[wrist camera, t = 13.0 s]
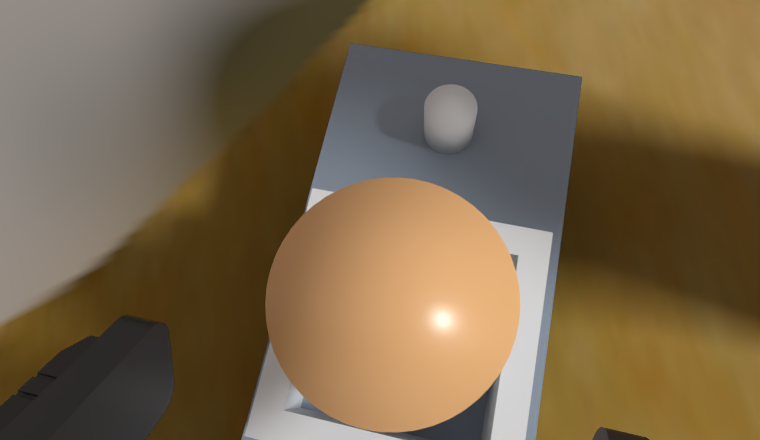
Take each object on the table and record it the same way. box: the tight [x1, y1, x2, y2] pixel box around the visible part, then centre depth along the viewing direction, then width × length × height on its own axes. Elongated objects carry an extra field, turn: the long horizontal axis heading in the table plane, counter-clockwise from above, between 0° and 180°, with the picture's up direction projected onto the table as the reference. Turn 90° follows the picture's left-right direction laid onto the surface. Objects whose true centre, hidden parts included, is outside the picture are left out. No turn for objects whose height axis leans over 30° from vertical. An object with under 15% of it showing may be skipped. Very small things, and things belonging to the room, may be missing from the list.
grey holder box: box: [241, 43, 582, 440], centre depth 22 cm, size 10×20×10 cm, turn 167°
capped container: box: [265, 178, 520, 433], centre depth 15 cm, size 5×5×10 cm
